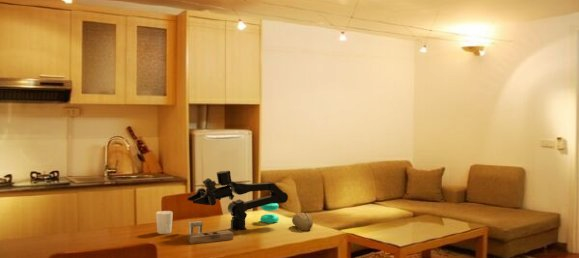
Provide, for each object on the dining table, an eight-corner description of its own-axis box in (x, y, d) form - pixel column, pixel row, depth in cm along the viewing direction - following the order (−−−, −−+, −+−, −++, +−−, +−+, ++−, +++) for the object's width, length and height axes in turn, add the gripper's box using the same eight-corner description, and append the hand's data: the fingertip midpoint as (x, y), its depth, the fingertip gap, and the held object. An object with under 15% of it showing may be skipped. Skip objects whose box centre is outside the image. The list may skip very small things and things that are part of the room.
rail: (187, 240, 235) (187, 234, 235) (228, 236, 244) (228, 230, 244) (191, 243, 229) (191, 237, 229) (233, 239, 238) (233, 232, 238)
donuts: (279, 205, 274) (261, 205, 273) (279, 223, 274) (260, 223, 273) (277, 201, 284) (260, 201, 283) (277, 219, 284) (259, 219, 283)
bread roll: (304, 224, 272) (304, 209, 272) (317, 230, 258) (317, 215, 258) (288, 225, 268) (288, 210, 268) (299, 232, 255) (300, 216, 254)
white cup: (168, 234, 246) (168, 214, 246) (153, 233, 248) (153, 213, 247) (175, 231, 254) (175, 211, 253) (160, 230, 255) (160, 210, 255)
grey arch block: (189, 234, 247) (189, 222, 247) (201, 233, 250) (201, 221, 250) (190, 235, 245) (190, 223, 245) (202, 234, 248) (202, 221, 248)
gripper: (211, 175, 262) (182, 182, 255) (223, 179, 245) (192, 186, 239) (215, 196, 263) (186, 203, 256) (227, 201, 247) (196, 209, 240)
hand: (190, 200), depth 248 cm, fingers open, 9 cm apart
